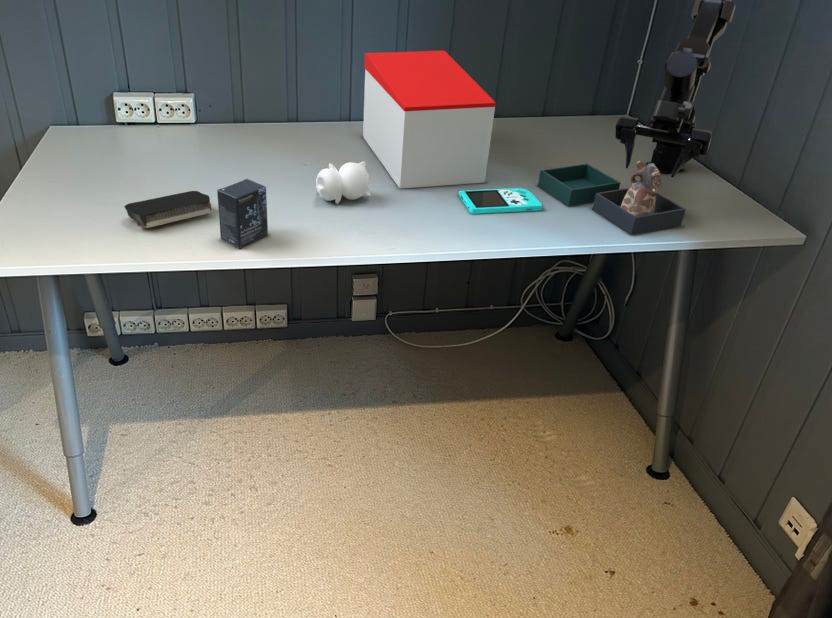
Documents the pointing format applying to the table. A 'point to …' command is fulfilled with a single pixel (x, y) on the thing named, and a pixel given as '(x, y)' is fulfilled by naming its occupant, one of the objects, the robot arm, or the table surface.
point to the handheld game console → (499, 200)
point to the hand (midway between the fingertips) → (649, 171)
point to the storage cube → (426, 119)
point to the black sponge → (169, 208)
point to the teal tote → (576, 183)
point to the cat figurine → (343, 182)
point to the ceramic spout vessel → (642, 191)
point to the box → (242, 213)
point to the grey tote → (663, 218)
